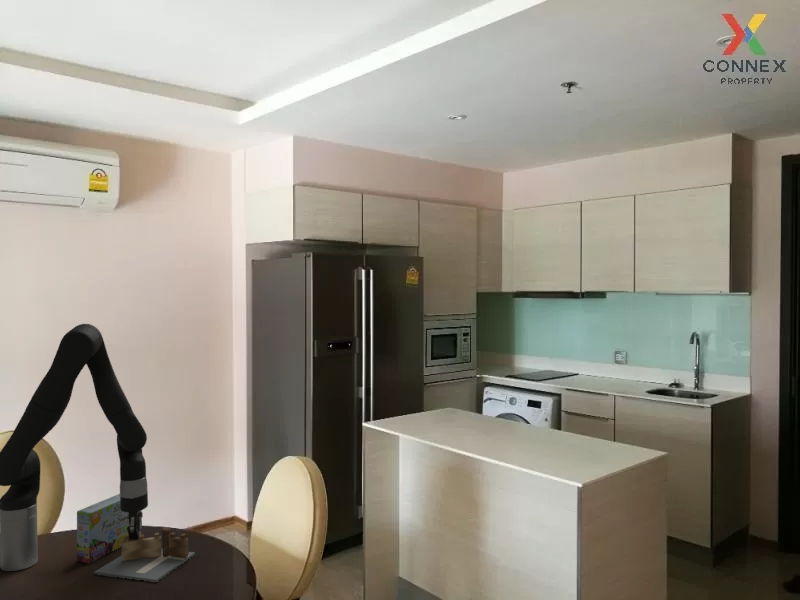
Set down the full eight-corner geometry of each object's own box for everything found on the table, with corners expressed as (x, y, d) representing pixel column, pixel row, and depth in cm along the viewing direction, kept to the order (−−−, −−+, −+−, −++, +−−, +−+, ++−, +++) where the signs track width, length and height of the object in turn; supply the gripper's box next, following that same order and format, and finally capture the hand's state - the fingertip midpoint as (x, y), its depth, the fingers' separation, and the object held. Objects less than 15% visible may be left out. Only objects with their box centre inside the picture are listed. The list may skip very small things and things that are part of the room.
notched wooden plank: (159, 559, 183) (159, 530, 183) (165, 556, 185) (164, 527, 185) (184, 562, 181) (184, 533, 180) (189, 558, 183) (189, 529, 183)
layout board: (94, 574, 174) (94, 571, 174) (137, 548, 191) (137, 545, 191) (156, 582, 168) (156, 579, 168) (195, 555, 186) (195, 552, 186)
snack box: (91, 564, 180) (90, 512, 180) (76, 562, 182) (75, 510, 182) (143, 536, 200) (142, 490, 200) (128, 534, 202) (128, 488, 202)
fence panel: (121, 561, 179) (121, 538, 179) (122, 558, 181) (122, 536, 181) (161, 555, 183) (160, 534, 182) (161, 553, 184) (161, 532, 184)
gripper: (123, 486, 189) (125, 543, 190) (116, 501, 177) (118, 561, 177) (150, 484, 191) (152, 539, 192) (144, 498, 179) (146, 558, 179)
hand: (135, 550), depth 185 cm, fingers closed
